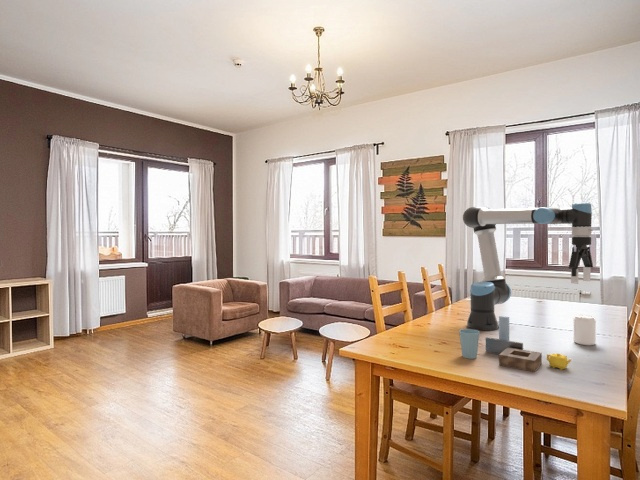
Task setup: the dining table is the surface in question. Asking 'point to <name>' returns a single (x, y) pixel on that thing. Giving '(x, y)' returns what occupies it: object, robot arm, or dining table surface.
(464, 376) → the dining table surface
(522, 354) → the socket block
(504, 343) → the rail
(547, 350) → the dining table surface
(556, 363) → the teapot
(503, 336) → the peg
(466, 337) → the cup
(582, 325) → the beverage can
